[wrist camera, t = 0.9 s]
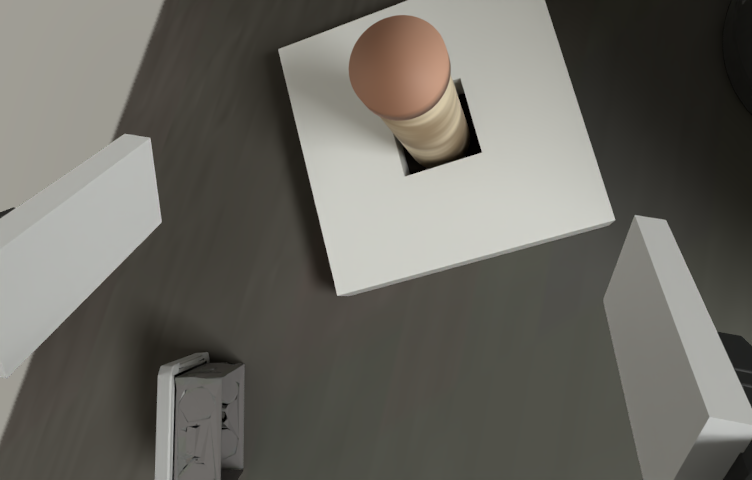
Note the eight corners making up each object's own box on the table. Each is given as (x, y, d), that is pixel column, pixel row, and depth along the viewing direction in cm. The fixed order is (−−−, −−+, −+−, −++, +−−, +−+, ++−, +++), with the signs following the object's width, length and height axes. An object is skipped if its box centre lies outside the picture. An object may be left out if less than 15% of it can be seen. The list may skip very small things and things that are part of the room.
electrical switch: (199, 350, 45) (131, 365, 35) (265, 351, 44) (212, 366, 35) (197, 478, 44) (126, 527, 35) (264, 480, 43) (209, 532, 34)
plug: (462, 96, 41) (432, 0, 28) (481, 160, 41) (459, 94, 27) (398, 118, 42) (338, 35, 29) (415, 181, 42) (361, 126, 28)
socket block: (529, -22, 41) (529, -46, 38) (608, 225, 38) (615, 219, 35) (294, 65, 45) (277, 49, 42) (350, 295, 42) (337, 296, 39)
